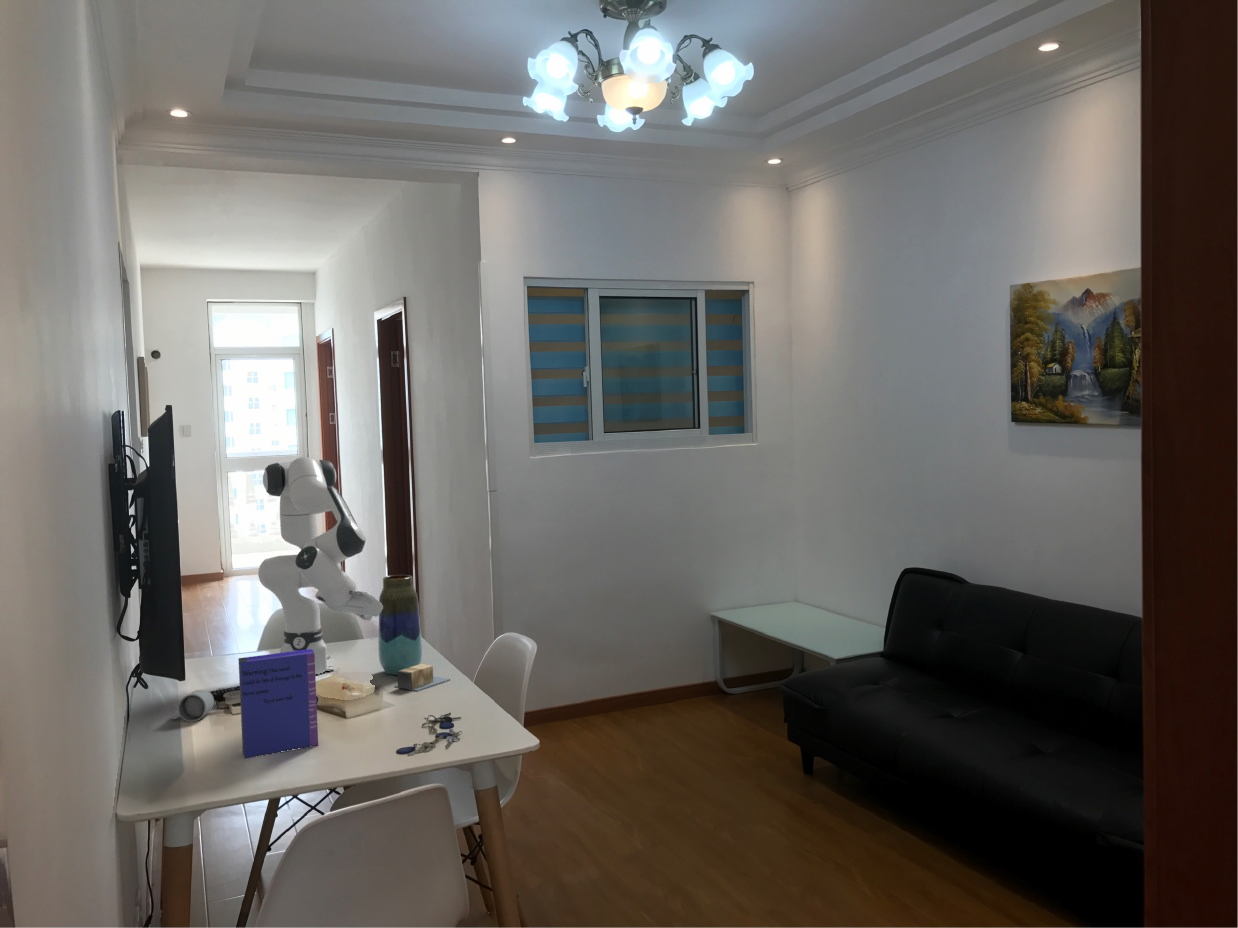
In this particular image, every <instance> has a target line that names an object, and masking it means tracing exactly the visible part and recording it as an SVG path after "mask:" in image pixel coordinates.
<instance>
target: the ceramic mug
mask: <svg viewBox="0 0 1238 928" xmlns="http://www.w3.org/2000/svg"><path fill="white" fill-rule="evenodd" d="M214 705H215V699H214V696H213V694H212V693H211V692H210V691H208V690H206V689H197V690H194V691H192V692H190V693H188V694H186V695H185V696H183V697H182V698H181V700H179V702H178V704H177V710H176V711H175V712H174V713H172V714H171V718H172V720H176V719H179V718H181V719H182V720H184V721H186V722H189V723H193V722H194V723H195V722H198V721H200V720H201V719H203V717H206V715H207V714H209V713H210V711H212V709H213V707H214Z"/></svg>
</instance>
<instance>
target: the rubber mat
mask: <svg viewBox="0 0 1238 928" xmlns="http://www.w3.org/2000/svg"><path fill="white" fill-rule="evenodd" d="M448 680H450V681H451V678H448V677H447V678H446V677H443V676H442V677H441V676H437V675H436V676H435V675H433V682H431V683H428V684H425V685H422V686H419V687H416V688H413V689H410V690H409V691H414V692H419V691H422V690H426V689H428V688H432V687H434V686H433V685H435V686H437V684H438V685H441V684H443V683H442V682H444V683H446V682H445V681H447V682H449V681H448ZM440 683H441V684H440ZM394 688H399V687H398V684H395V685H394ZM399 689H400V688H399ZM403 689H404V688H402V690H403ZM404 690H405V689H404Z"/></svg>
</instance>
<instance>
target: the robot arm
mask: <svg viewBox="0 0 1238 928" xmlns="http://www.w3.org/2000/svg"><path fill="white" fill-rule="evenodd" d="M336 481H337V472H336V469H335V466H334V464H333V463H332V462H331V461H330V460H325V459H319V460H315V459H314V458H312V457H309V456H300V457H297V458H295V459H294V460H293V461H285V462H280V463H279V462H274V463H271V464H269V465H267V466H266V467H265V468H264V472H263V473H262V484H263V487H264V489H265V491H266V493H267V494H268V495H269V496H271V497H272V496H273V497H279V498H280V499H279V523H280V525H279V526H280V527H279V528H280V536H281V538H282V539H283V540H284V541H285V542H286V543H288V544H290V545H293V546H295V547H298V548H299V549H300V550H299V552H298V553H297V554H288V555H287V554H286V555H284V554H282V555H276V556H271V557H269V558H265V559H263V561H262V562H261V563H260V565H259V568H258V573H257V574H258V575H257V576H258V579H259V582H260V584H261V585H262V586H263V587H264V588H265V589H267V590H269V591H270V592H271V593H272V594H274V595H275V597H276V598H277V599H278V601H279V602H280V604H281V608H282V611H283V619H284V631H283V642H284V644H283V645H282V646H281V647H280V649H279V653H284V652H292V651H299V650H307V649H312V650H313V651H314V654H315V676H317V675H316V674H318V675H321V674H320V673H322V674H324V673H323V672H325V671H329V670H333V669H334V670H335V659H334V657H330V656H329V655H328V647H327V644H326V642H325V641H324V640H323V638H324V637H323V628H322V625H321V610H320V609H321V608H320V606H319V604H318V602H316V601H315V600H314V599H312V598H309V597H307V596H305V595H302V594H301V593H300V589H303V588H315V589H317V591H316V593H315V595H314V597H315V598H316V599H317V601H321V602H322V603H323V604H324V605H325V606H326V607H328V608H329V609H331V610H333V611H335V612H341V613H342V612H343V613H349V614H353V615H355V616H356V617H357V616H358V618H360V619H361V620H363V621H371V620H372V618H373V617H379V614H380V612H381V611H382V609H383V605H382V604H381V603H380V602H379V599H377V598H376V597H375V596H373V595H372V594H371V593H369V592H367V591H361V590H357V584H356V582H355V581H354V580H353V579H352V578H351V577H350V576H349V575H348V574H347V573H346V572H345V571H344V570H342V564H341V563H342V562H344V561H346V560H347V559H349V558H352V557H354V556H356V555H358V554H360V553H362V552H363V550H364V548H365V544H366V536H365V535H364V533H363V530H362V529H361V527H359V525H358V523H357V522H356V521H357V520H356V519H355V518H354V516H353V514H352V512H351V510H350V507H349V506H348V504H347V502H346V500H345V499H344V497H343V495H342V494H341V493H340V492H339V491H338V489H337V488H336V487H335V484H336ZM327 512H332V513H333V516H334V518H335V520H336V524H335V525H334V526H333V527H332V528H330V529H328V530H327V531H325V532H324V533H321V534H319V533H318V528H317V527H318V526H317V517H316V516H317V515H318V514H323V513H327ZM325 673H326V672H325Z"/></svg>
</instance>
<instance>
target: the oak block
mask: <svg viewBox="0 0 1238 928" xmlns="http://www.w3.org/2000/svg"><path fill="white" fill-rule="evenodd" d="M396 676H397V685H398V687H399V689H403V688H404V690H408V691H411V690H410V689H413V688H416V687H419V686H422V685H425V684H428V683H431V682H433V676H434V667H433V665H429V664H424V663H420V664H419V665H416V666H413V667H409V668H406V669H403V670H399V671H397V675H396ZM398 687H397V688H398Z"/></svg>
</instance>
